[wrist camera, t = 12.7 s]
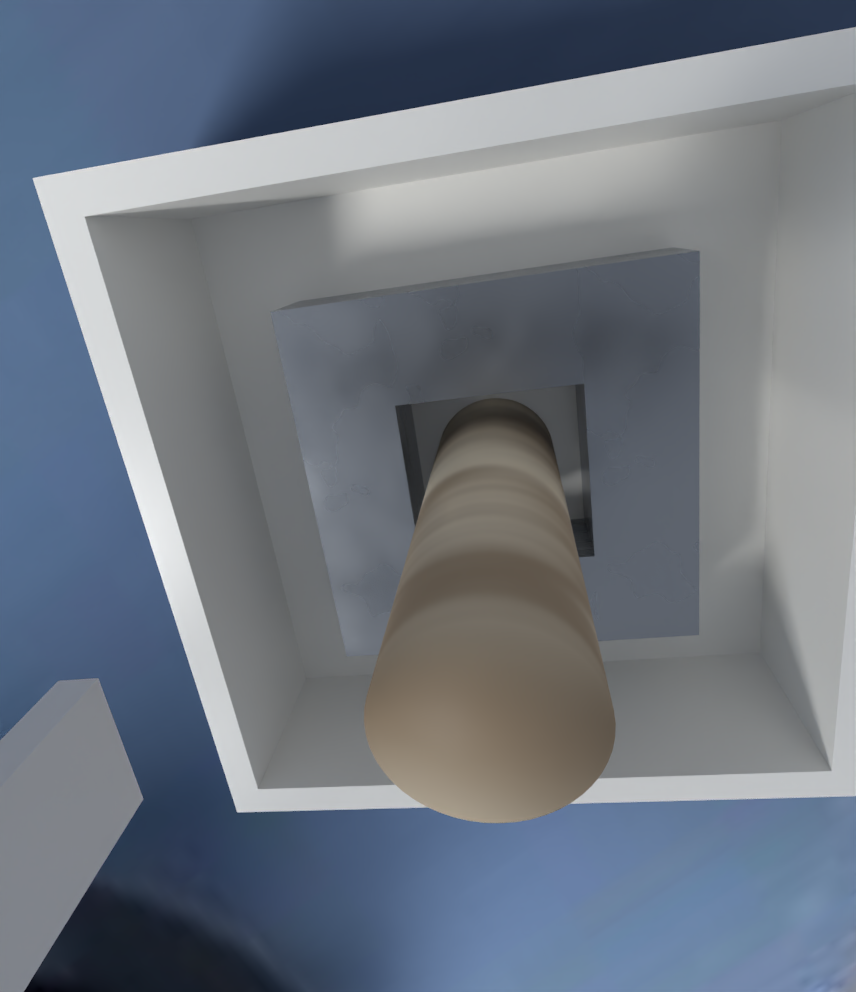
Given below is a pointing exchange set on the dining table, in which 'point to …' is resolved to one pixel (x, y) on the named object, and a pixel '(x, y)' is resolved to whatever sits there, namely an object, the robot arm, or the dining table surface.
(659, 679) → the box
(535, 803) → the peg
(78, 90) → the dining table surface
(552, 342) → the bore plate
